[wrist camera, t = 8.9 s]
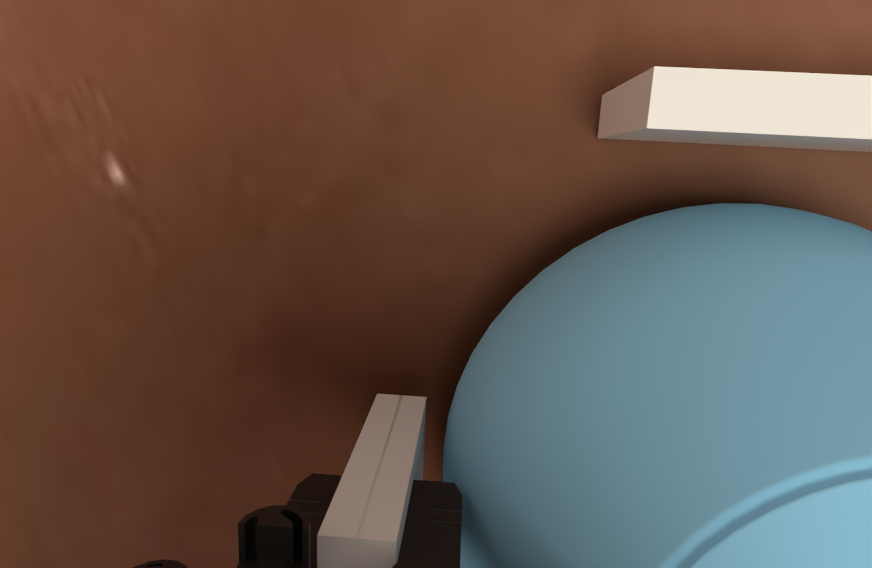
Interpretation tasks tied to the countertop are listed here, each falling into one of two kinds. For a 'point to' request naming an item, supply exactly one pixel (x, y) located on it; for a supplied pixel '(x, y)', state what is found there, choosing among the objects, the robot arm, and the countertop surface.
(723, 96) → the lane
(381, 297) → the countertop surface
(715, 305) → the sugar bowl
